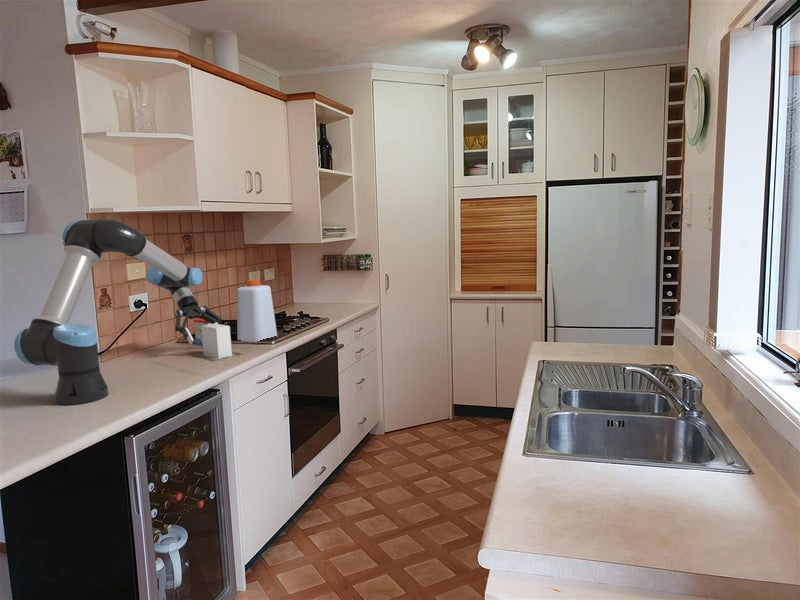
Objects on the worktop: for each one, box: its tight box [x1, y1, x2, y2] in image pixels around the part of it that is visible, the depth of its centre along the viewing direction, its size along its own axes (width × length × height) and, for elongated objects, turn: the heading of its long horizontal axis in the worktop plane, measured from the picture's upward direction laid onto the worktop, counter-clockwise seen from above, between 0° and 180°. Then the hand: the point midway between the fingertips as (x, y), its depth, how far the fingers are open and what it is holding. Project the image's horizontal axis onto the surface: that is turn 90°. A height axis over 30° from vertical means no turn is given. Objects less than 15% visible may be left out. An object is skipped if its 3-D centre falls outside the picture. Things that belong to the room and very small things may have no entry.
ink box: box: [193, 311, 215, 346], centre depth 266 cm, size 8×5×15 cm, turn 62°
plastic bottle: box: [236, 279, 278, 342], centre depth 267 cm, size 15×15×28 cm
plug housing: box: [201, 323, 233, 358], centre depth 238 cm, size 6×11×12 cm, turn 49°
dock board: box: [192, 351, 244, 362], centre depth 239 cm, size 14×16×1 cm
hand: (207, 339), depth 243 cm, fingers open, 13 cm apart
